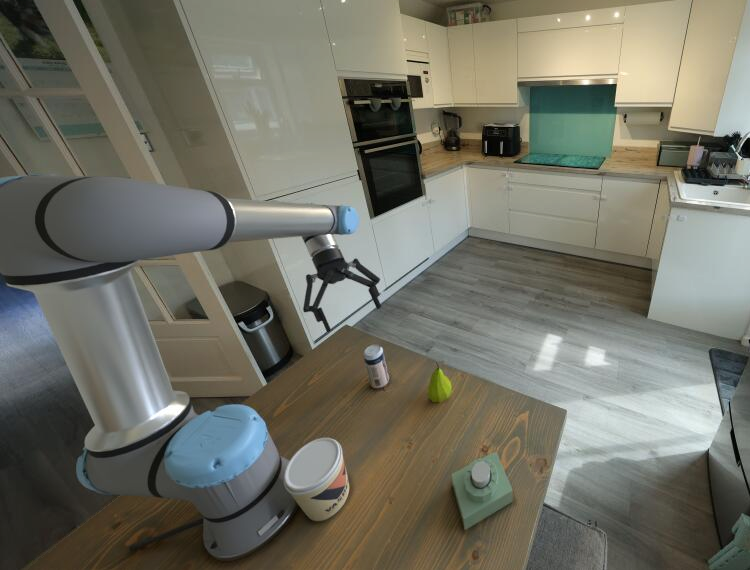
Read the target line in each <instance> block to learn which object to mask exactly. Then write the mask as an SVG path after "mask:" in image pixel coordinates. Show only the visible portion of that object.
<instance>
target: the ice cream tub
mask: <svg viewBox="0 0 750 570" xmlns="http://www.w3.org/2000/svg"><path fill="white" fill-rule="evenodd" d="M289 460H290V462H289V463H288V465H287V468H286V471H285V474H284V486H285V488H286V490H287V491H288V492H289V493H291V495H292V496H293V498H294V499H295V500H296V502H297V503H298V505H299V507H300V508H301V510H302V512H304V514H305V516H306V517H308V518H309V519H310V520H312V521H313V522H322V521H327V520H328V519H329V518H331V517H333V516H334V515H336V514H337V512H339V511H340V510H341V509H342V508H343V505H345V503H346V501H347V498H348V496H349V494H350V493H349V491H350V482H349V476H348V472H347V467H346V464H345V459H344V455H343V448H342V445H341V444H340V443H339V441H338V440H336V439H334V438H330V437H320V438H316V439H314V440H312V441H310V442H308V443H306V444H305V445H303V446H302V447H301V448H299V449H298V450H297V451H296V452H295V454H293V456H292V457H291V459H289Z"/></svg>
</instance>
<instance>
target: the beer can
mask: <svg viewBox="0 0 750 570" xmlns="http://www.w3.org/2000/svg"><path fill="white" fill-rule="evenodd" d="M363 359H364V363H365V367H366V371H367V375H368V378H369V382H370V386H371V387H372V388H373V389H380V388H383V387H385V386H386V385H387V384H388V383H389V381H390V376H389V371H388V367H387V362H386V358H385V354H384V349H383V347H382V346H380V345H379V344H372V345H371V344H370V345H369V346H367V347H366V348H365V350H364V352H363Z"/></svg>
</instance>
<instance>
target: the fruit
mask: <svg viewBox="0 0 750 570" xmlns="http://www.w3.org/2000/svg"><path fill="white" fill-rule="evenodd" d="M435 364H436V366H437V367H436V368H435V369H434V371H433V372H432V374H431V376H430V381H429V383H428V387H427V392H426V395H427V397H428V399H429V400H430V401H431V402H432V403H442V402H445V401H447V400H448V399H449V397H450V396H451V395H452V391H453V390H452V382H451V380H450V379H449V377H447V376H446V375H444V372H443V369H441V368H440V366H439V364H438V361H435Z"/></svg>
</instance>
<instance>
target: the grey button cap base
mask: <svg viewBox="0 0 750 570" xmlns="http://www.w3.org/2000/svg"><path fill="white" fill-rule="evenodd" d="M478 462H485V463H487V464H488V466H489V468H490V481H489V483H488V484H487V486H485V487H484V488H477V487H475V486H474V485H473V483H472V476H471V471H472V468H473V466H474V465H475V464H476V463H478ZM506 473H507V472H506V471H505V468H504V467H503V464H502V461H501V459H500V457H499V454H498V451H494V452H491V453H489V454H488V455H486V456H484V457H479V458H477V459H475V460H473V461H470V463H469V464H468V465H466V466H464V467H463V468H461V469H459V470H457V471H455V472H453V473H451V474H450V477H451V485H452V488H453V492H454V496H455V499H456V504H457V507H458V511H459V514H460V518H461V521H462V526H463V530H464V531H466V530H468V529H469V528H471V527H472V526H474V525H476V524H478V523H479V522H481V521H483V520H484V519H486V518H487V517H489V516H491V515H493V514H494V513H496V512H497V511H499V510H501V509H503V508H504V507H507V506H508V505H509V504H511V503H513V499H514V498H513V497H514V491H513V488H512V485H511V482H510V481H509V478H508V475H507V474H506Z"/></svg>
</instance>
